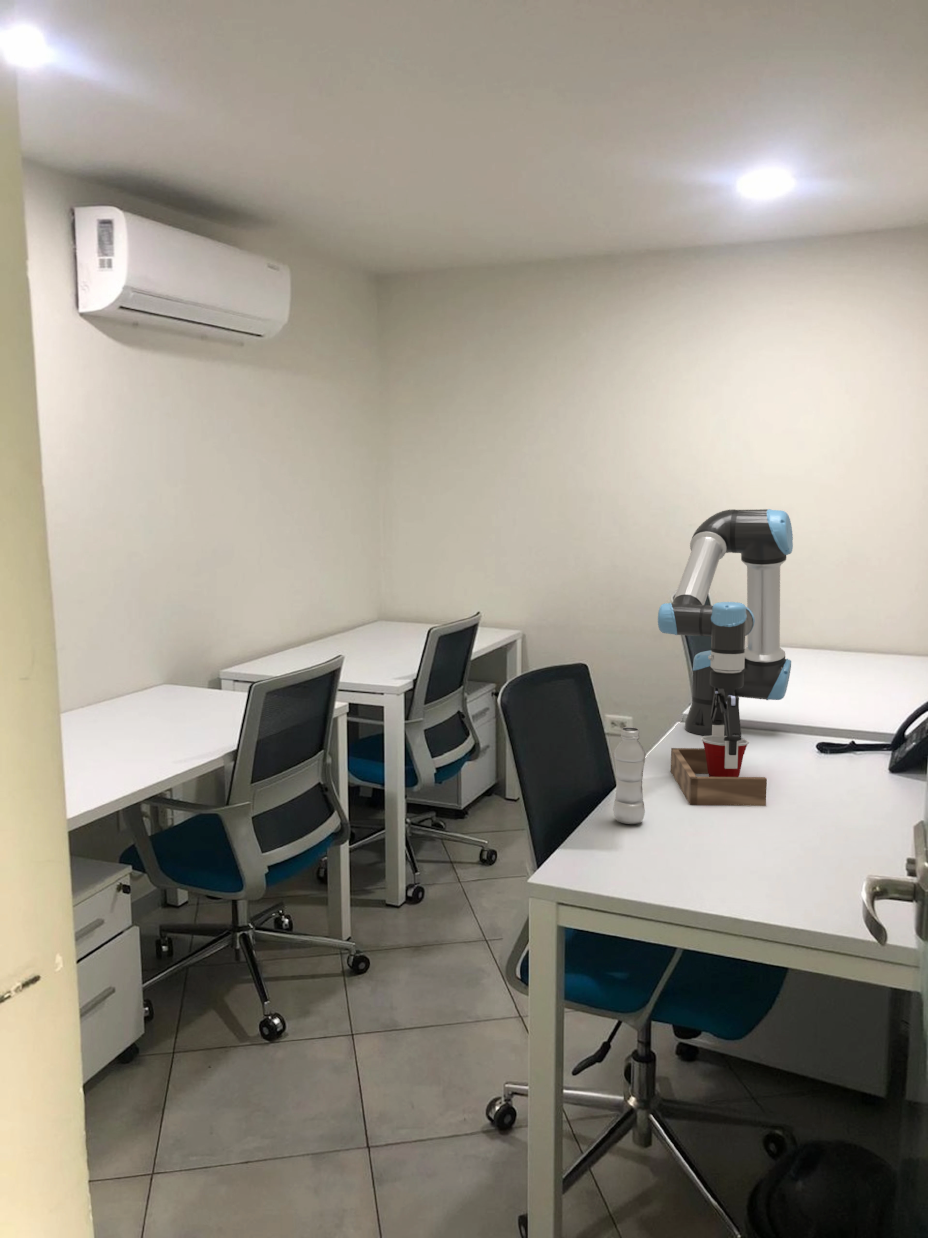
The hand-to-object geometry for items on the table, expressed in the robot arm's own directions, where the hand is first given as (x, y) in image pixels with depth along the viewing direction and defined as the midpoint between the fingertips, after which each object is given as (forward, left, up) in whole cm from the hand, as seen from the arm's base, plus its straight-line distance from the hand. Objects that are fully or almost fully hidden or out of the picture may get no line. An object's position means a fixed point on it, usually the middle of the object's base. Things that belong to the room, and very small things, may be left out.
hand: (724, 759), depth 221 cm
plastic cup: (0, 0, -7) cm, 7 cm away
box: (0, -1, -7) cm, 7 cm away
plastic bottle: (+24, -25, -7) cm, 35 cm away
